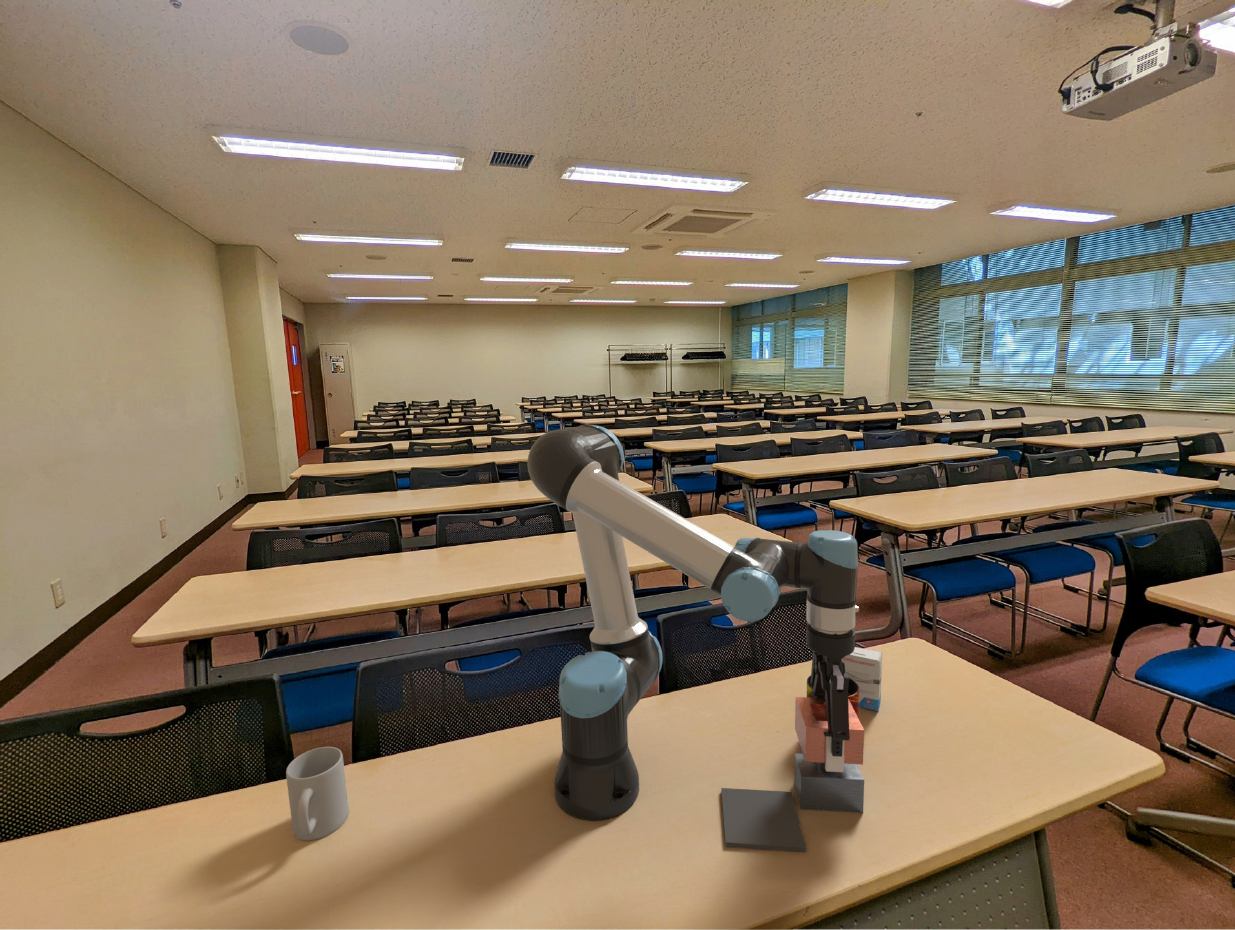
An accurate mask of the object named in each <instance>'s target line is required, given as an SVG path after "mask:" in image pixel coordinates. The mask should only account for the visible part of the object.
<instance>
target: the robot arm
mask: <svg viewBox="0 0 1235 930" xmlns="http://www.w3.org/2000/svg"><path fill="white" fill-rule="evenodd" d="M623 449H624V448H623V446H622V444H621V442H620V440H619V439H618V437H617V436H616V435H615V434H614V433H613V432H612V431H610V430H609V429H607V428H606V427H603V426H600V425H594V424H593V425H590V424H585V425H583V424H581V425H579V426H574V427H568V428H562V429H560V428H559V429H555V430H554V429H553V430H550V431H548V432H546V433H544V434H542V435H541V436H539V437H538V438H537V439H536V440H535V441H534V443H533V444H532V445H531V448H530V450H529V452H528V456H527V463H526V464H527V471H528V474H529V477H530V481H532V483H533V485H534V486H535V487H536V488H537V490H538V491H539V492H540V493H541V494H542V495H543V496H545V497H546V498H547V499H549V500H550V501H551V502H553V504H556V506H557V505H558V507H561V508H563V509H564V510H565V511H567V512H569V513H572V518H573V522H574V526H575V532H576V537H577V542H578V547H579V553H580V556H581V562H582V567H583V572H584V577H585V580H586V581H585V582H586V587H587V593H588V597H589V601H590V606H591V612H592V616H593V621H594V628H593V629H592V631H591V632H590V634H589V640H590V645H591V651H587V652H585V654H584V655H582V654H579V655H577V656H574V658H572V659H570V660H569V661H568V662H567V663H566V664H565V665H564V667H563V668H562V670H561V672H560V675H559V686H558V700H559V707H560V708H559V713H560V726H561V727H560V730H561V746H562V751H561V755H560V758H559V762H558V765H557V769H556V772H555V776H554V781H553V783H554V785H553V786H554V798H555V801H556V803H557V805H558V806H559V807H560V808H561V809H562V810H563V811H564V812H565V813H567V814H568V815H570V816H571V817H573V818H574V817H575V818H577V819H581V820H585V821H586V820H587V821H600V820H606V819H611V818H613V817H617V816H619V815H621V814H623V813H624V812H625V811H627V810H628V809H630V808H631V807H632V805H634V803H635V801H636V800H637V798H638V796H639V793H640V775H639V771H638V770H639V769H638V767H637V766H636V763H635V760H634V758H633V755H632V753H631V750H630V748H629V736H628V717H629V716H630V713H631V712H632V711H633V710H634V708H635V707H636V705H637V704H638V703H639V702H640V700H642V698H643V697H644V695H645V694H647V691H649V689H650V688H651V687H652V686H653V684H654V683H655V682H656V680H657V679H658V676H659V674H660V672H661V670H662V665H663V651H662V647H661V645H660V642H659V640H658V639H657V637H656V636H655V635H652V633H651V631H649V627H648V624H647V622H646V621H644V620H643V619H642V618H640V617H639V616H638V615H639V614H638V611H637V605H636V599H635V595H634V590H633V584H632V580H631V575H630V569H629V565H628V564H629V563H628V560H627V554H626V550H625V544H624V539H626V540H627V541H630V542H631V543H633V544H634V545H636V546H637V547H640V548H641V549H643V550H645V551H646V552H647V553H650V555H653V556H655V557H656V558H658V559H659V560H661V561H662V562H663V563H666V564H668V565H669V566H671V567H672V568H674V569H675V570H678V571H679V572H681V573H683V574H684V575H686V576H687V577H689V578H691V579H692V580H694V581H696V582H698V583H699V584H700V585H703V586H704V587H706V588H708V589H709V590H711V591H712V592H713V593H715V594H717V595H719V596H720V599H721V602H722V604H723V606H724V608H725V610H726V611H727V612H728V614H729V615H731V616H732V617H733V618H735V619H736V620H739V621H742V622H749V623H752V622H757V621H760V620H762V619H763V618H765V617H767V616H768V614H770V612H771V611H772V609H773V608H774V607H775V606H776V605H777V604H778V602H779V598H780V594H781V592H782V590H783V588H784V587H786V588H794V589H795V588H796V589H805V590H806V591H807V594H806V619H805V620H806V622H807V623H806V634H805V635H806V637H805V641H806V643H805V644H806V646H807V647H808V649H810V650H811V651H812V660H811V669H810V670H811V671H810V675H811V681H810V686H811V688H813V690H812V694H813V697H815V698H825V697H826V709H827V721H828V731H826V732H824V736H826V753H825V769H826V771H830V772H844V746H845V740H846V741H849V740H850V735H849V707H848V686H849V678H848V676H844V673H845V664H844V662H842V658H843V657H845V656H847V655H850V654H851V653H853V651H854V649H855V647H856V629H855V627H856V613H859V611H860V608H859V606H857V592H858V572H859V571H858V569H859V559H858V558H859V557H858V556H859V555H858V552H859V551H858V541H857V539H856V538H855V536H853V535H852V534H850V533H847V532H845V531H839V530H835V529H834V530H830V529H828V530H822V529H821V530H820V529H819V530H815V531H812V532H811V533H809V536H808V539H807V542H804V541H803V542H798V541H797V542H796V541H790V540H789V541H787V540H778V539H770V538H769V539H768V538H762V537H754V538H753V537H742V538H741V537H740V538H739V539H737V541H736V542H735V545H732V544H730V543H729V542H727V541H725V540H723V539H722V538H720V537H718V536H716V535H715V534H713V533H712V532H709V531H707V530H705V529H704V528H702V527H701V526H699V525H697V524H695V523H693V521H690V520H688V519H686V518H685V517H683V516H682V515H680V514H678V513H676V512H674V511H672V510H671V509H669V508H667V507H666V506H663V505H662V504H660V503H659V502H657V501H655V500H653V499H651V498H649V497H648V496H646V495H644V494H643V493H641V492H639V491H637V490H635V489H633V488H632V487H630V486H629V485H627V484H625V483H623V482H622V481H620V479H619V478H620V477H619V473H620V472H621V469H622V467H623V464H624V450H623ZM623 538H624V539H623Z"/></svg>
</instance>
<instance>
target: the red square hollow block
mask: <svg viewBox="0 0 1235 930" xmlns="http://www.w3.org/2000/svg"><path fill="white" fill-rule="evenodd" d="M794 704H795V708H794V709H795V711H794V712H795V713H794V714H795V715H794V729H795V733H796V736H797V739H798V742H799V746H800V749H801V752H802V753H801V754H803V756H804V759H805V761H808V762H825V753H826V736H824V732H826V731H828V721H827V709H826V698H810V697H807V696H805V697H804V696H795V703H794ZM848 707H849V735H850V740H849V741H846V740H845V746H844V764H857V765H864V750H865V748H864V747H865V746H864V745H865V729H864V727H863V725H862V722H861V721H860V719H859V716H858V717H857V715H856V713H855V711H854V709H853V707H852V705H851V703H850V701H849V699H848Z"/></svg>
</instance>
